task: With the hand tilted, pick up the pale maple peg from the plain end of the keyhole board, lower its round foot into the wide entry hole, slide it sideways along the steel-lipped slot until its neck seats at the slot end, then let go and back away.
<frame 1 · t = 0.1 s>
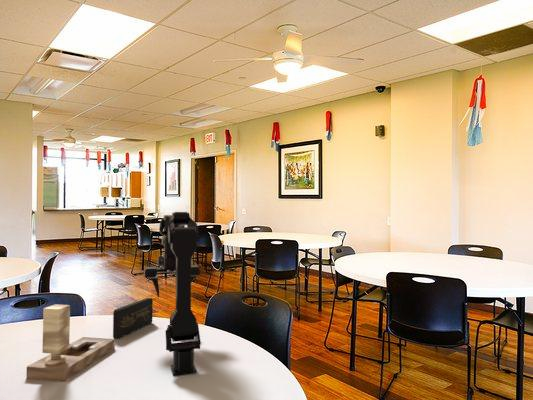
hand: (172, 296, 138), 15 cm above the table, tool pointing down, fingers open, 9 cm apart
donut: (182, 336, 141), on the table
keyhole board: (75, 361, 116), on the table
peg: (55, 362, 108), point 3 cm above the table, touching keyhole board
nameplate: (133, 331, 147), on the table
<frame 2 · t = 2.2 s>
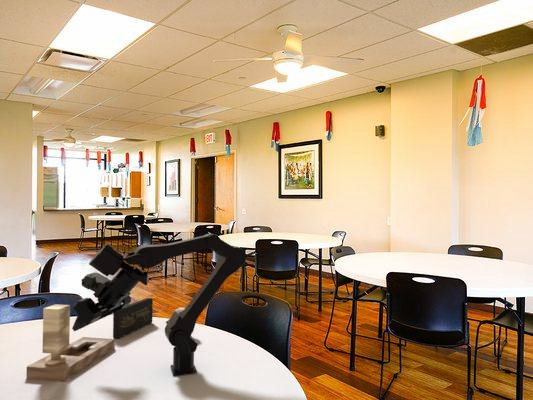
hand: (84, 324, 108), 13 cm above the table, tool tilted 45°, fingers open, 9 cm apart
nothing on the table moved.
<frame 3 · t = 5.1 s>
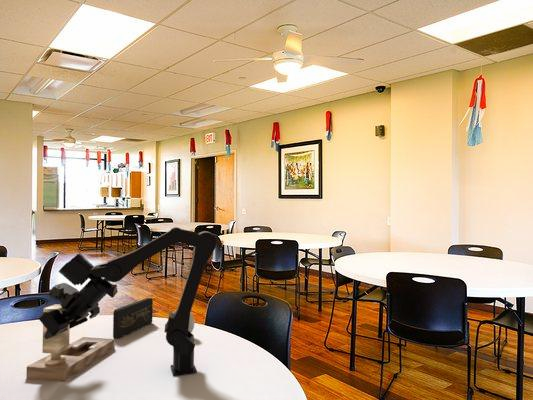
hand: (51, 334, 108), 10 cm above the table, tool tilted 45°, fingers closed on peg, 5 cm apart
peg: (55, 362, 108), point 3 cm above the table, touching gripper, keyhole board
everything else where it was.
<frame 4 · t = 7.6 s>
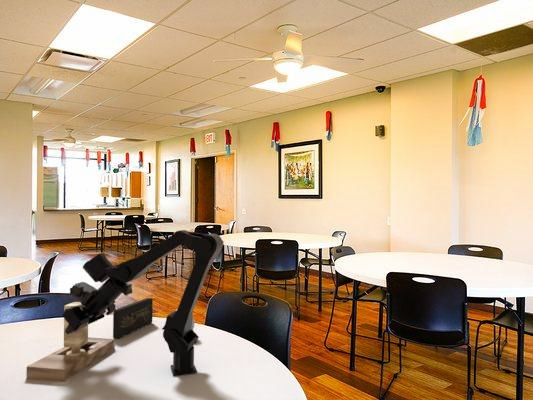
hand: (71, 330, 117), 9 cm above the table, tool tilted 45°, fingers closed on peg, 5 cm apart
peg: (75, 355, 116), point 2 cm above the table, touching gripper
everything else where it was.
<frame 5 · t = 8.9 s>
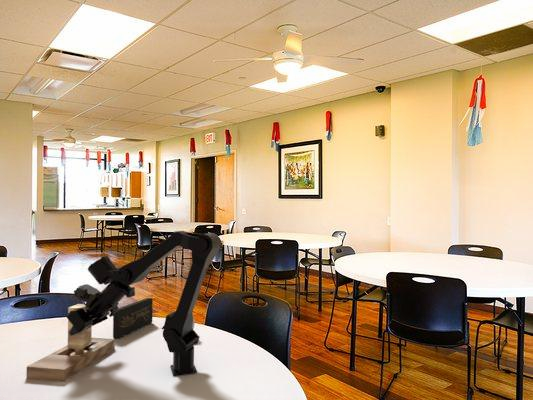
hand: (75, 331, 119), 8 cm above the table, tool tilted 45°, fingers closed on peg, 5 cm apart
peg: (79, 356, 118), point 1 cm above the table, touching gripper
everything else where it was.
when the fingers open (8 cm above the table, at t = 10.1 s): peg stays where it is, resting on keyhole board.
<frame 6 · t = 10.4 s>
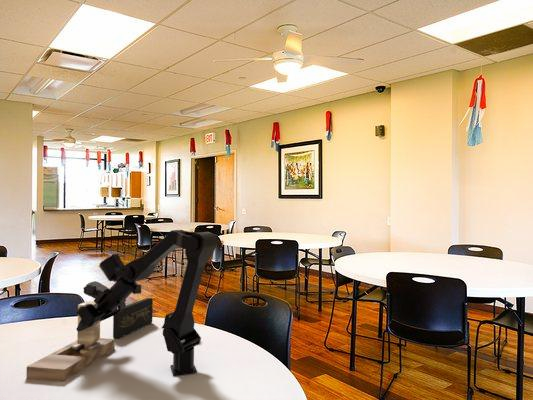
hand: (85, 327, 123), 8 cm above the table, tool tilted 45°, fingers open, 7 cm apart
peg: (88, 352, 123), point 1 cm above the table, touching keyhole board
everything else where it was.
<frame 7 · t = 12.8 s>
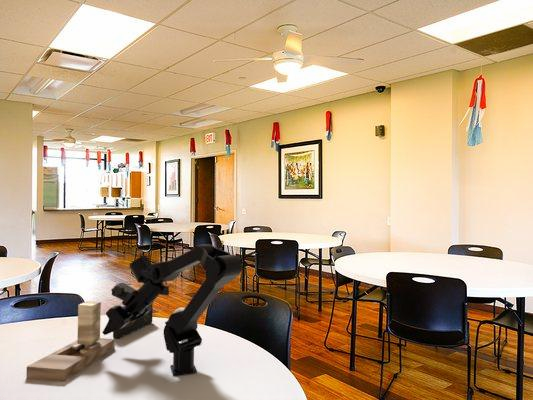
hand: (112, 329, 122), 8 cm above the table, tool tilted 45°, fingers open, 9 cm apart
nothing on the table moved.
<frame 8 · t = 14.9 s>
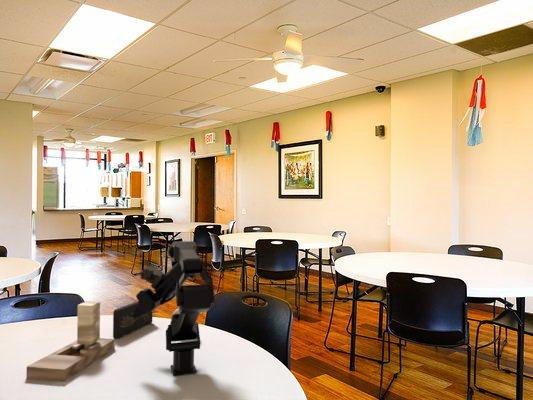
hand: (140, 313, 120), 14 cm above the table, tool tilted 45°, fingers open, 9 cm apart
nothing on the table moved.
at the end: peg 0.1 cm from the target spot on the keyhole board, point 0.5 cm above the keyhole board's base; peg tilted 1°; the gripper is holding nothing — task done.
